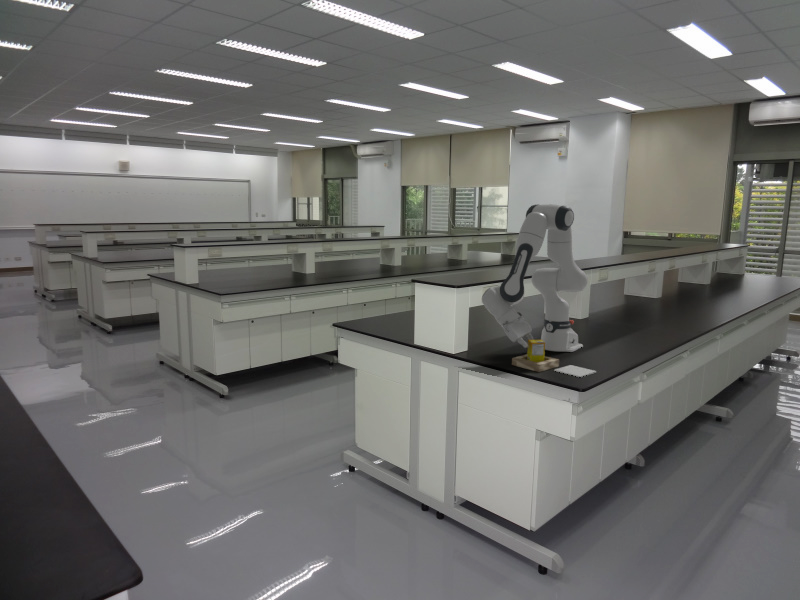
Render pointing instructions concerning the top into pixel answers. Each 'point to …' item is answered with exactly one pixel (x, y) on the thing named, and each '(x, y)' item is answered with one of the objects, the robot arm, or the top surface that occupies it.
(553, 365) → the pocket holder
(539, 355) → the supplement box
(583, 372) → the grey pad
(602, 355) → the top surface
